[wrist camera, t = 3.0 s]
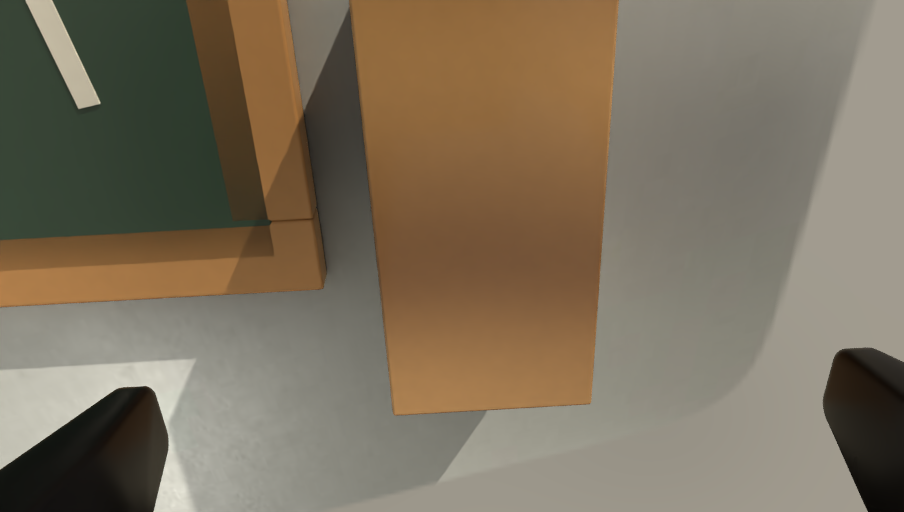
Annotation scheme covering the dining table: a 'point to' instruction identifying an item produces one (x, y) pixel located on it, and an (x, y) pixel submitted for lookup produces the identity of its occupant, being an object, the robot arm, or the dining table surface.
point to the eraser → (487, 194)
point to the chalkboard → (152, 152)
